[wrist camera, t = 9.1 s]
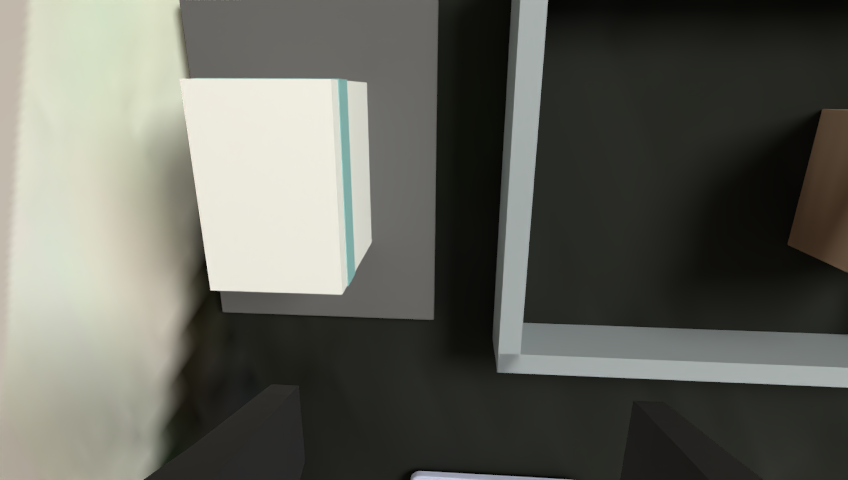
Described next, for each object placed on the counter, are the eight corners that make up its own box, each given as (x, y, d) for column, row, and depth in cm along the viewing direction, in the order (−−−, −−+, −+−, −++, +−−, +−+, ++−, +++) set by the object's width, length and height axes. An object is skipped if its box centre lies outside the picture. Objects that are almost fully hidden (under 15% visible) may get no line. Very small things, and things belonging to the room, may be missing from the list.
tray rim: (916, 355, 19) (983, 393, 16) (492, 338, 20) (497, 372, 17) (1063, -39, 15) (1182, -65, 12) (513, -33, 16) (523, -56, 13)
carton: (367, 81, 17) (331, 77, 12) (372, 243, 18) (343, 295, 14) (256, 81, 17) (178, 77, 12) (272, 240, 19) (209, 291, 14)
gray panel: (434, 315, 20) (433, 319, 19) (227, 308, 20) (222, 312, 20) (438, 0, 16) (437, -2, 16) (185, 1, 17) (179, 0, 16)
